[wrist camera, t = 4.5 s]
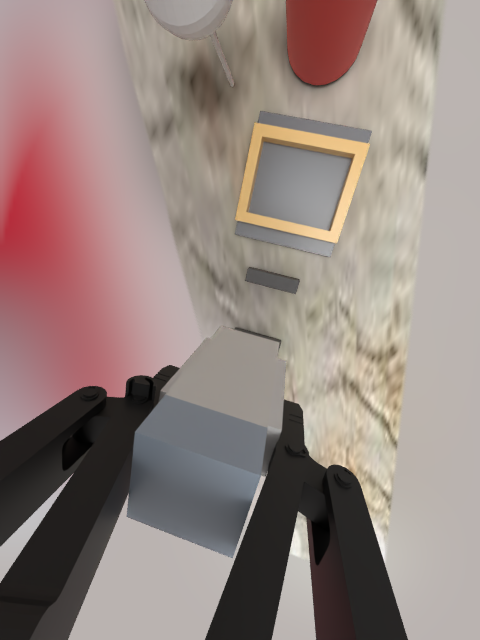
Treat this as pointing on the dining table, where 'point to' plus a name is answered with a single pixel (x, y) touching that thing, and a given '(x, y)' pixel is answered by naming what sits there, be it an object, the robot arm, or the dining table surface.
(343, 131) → the panel
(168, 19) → the lollipop
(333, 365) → the dining table surface
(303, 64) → the beer can
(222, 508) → the plug
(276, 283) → the dark gray parallel bars
